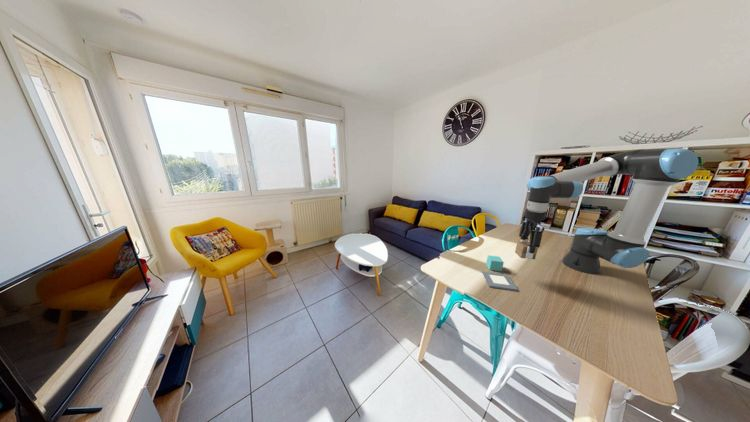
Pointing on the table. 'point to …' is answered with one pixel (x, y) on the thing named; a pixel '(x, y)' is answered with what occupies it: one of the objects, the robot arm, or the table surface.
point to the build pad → (499, 281)
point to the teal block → (494, 263)
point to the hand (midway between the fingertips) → (525, 254)
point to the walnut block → (524, 249)
